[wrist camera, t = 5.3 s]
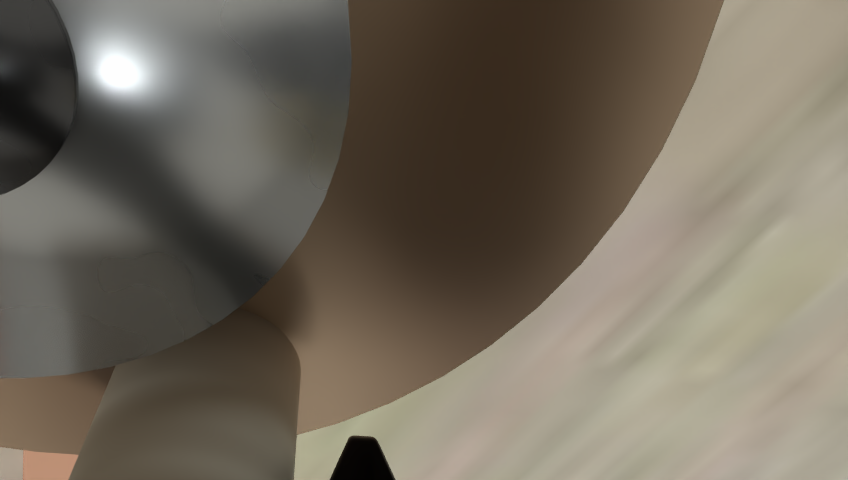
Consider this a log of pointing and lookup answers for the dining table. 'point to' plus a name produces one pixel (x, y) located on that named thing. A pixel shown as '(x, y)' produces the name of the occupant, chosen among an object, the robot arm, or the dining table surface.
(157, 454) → the lazy susan
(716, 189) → the dining table surface
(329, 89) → the cast cover
